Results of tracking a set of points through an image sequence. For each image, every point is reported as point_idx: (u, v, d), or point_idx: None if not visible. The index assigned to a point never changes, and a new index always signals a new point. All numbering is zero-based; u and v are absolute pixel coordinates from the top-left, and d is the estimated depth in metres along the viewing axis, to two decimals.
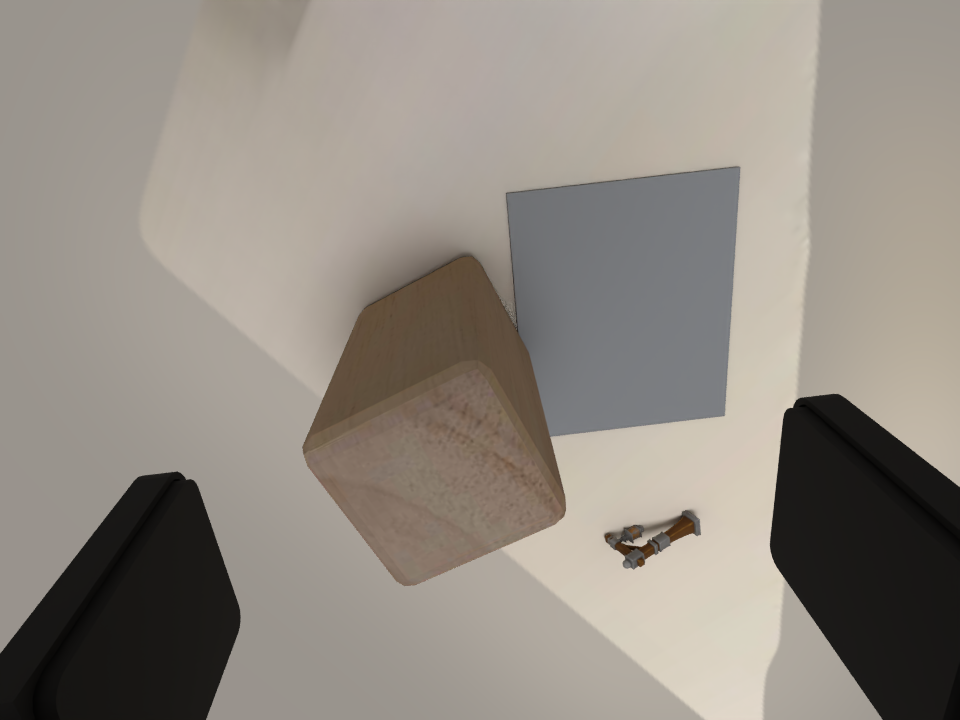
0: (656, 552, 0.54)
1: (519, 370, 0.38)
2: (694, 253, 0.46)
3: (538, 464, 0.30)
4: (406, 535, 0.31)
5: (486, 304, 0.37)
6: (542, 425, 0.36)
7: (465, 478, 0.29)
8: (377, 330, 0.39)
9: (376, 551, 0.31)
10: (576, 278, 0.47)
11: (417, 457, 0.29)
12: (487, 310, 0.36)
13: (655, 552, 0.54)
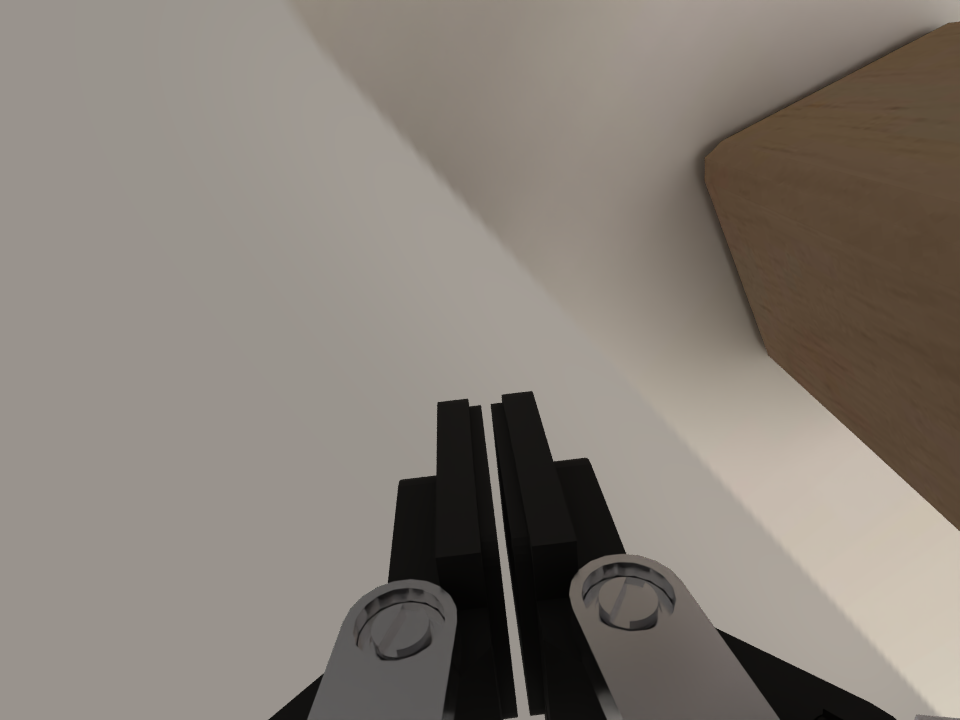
0: None
1: None
2: None
3: None
4: None
5: None
6: None
7: None
8: (903, 127, 0.16)
9: None
10: None
11: None
12: None
13: None
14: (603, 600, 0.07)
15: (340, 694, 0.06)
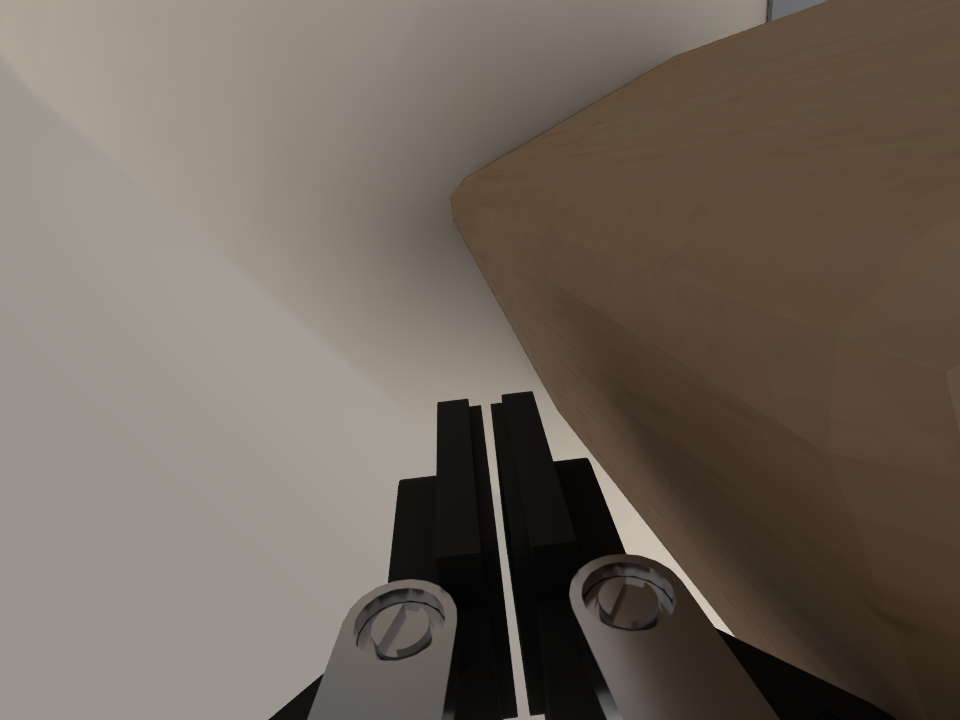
0: None
1: None
2: None
3: None
4: None
5: None
6: None
7: None
8: (590, 137, 0.14)
9: None
10: None
11: None
12: None
13: None
14: (603, 600, 0.07)
15: (340, 694, 0.06)
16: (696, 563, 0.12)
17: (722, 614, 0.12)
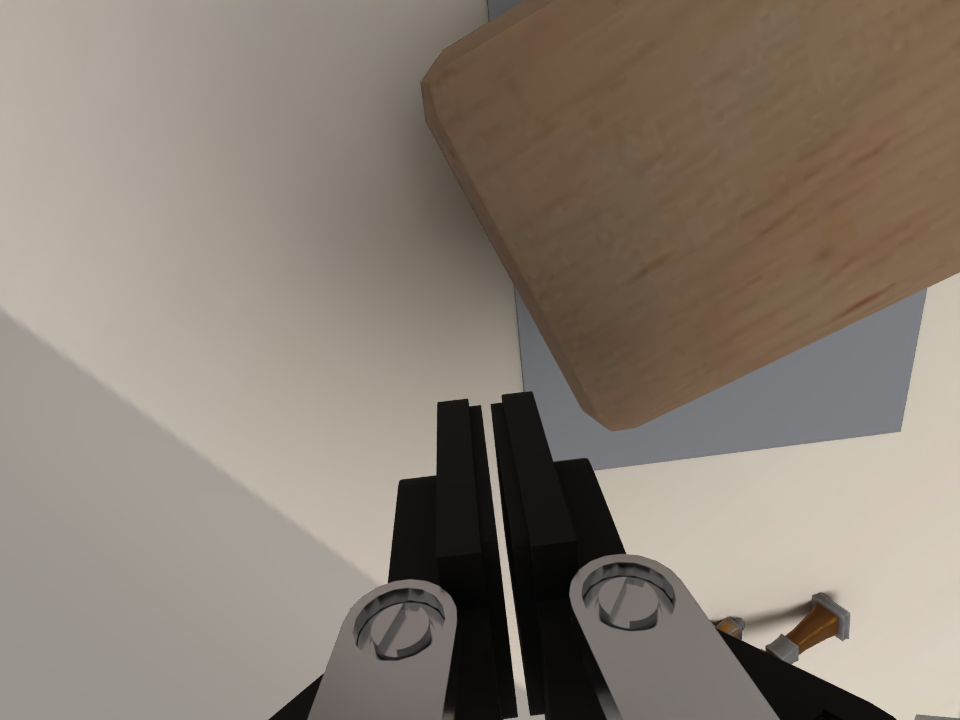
0: None
1: None
2: None
3: None
4: None
5: None
6: None
7: None
8: None
9: None
10: None
11: None
12: None
13: None
14: (603, 600, 0.07)
15: (340, 694, 0.06)
16: None
17: None
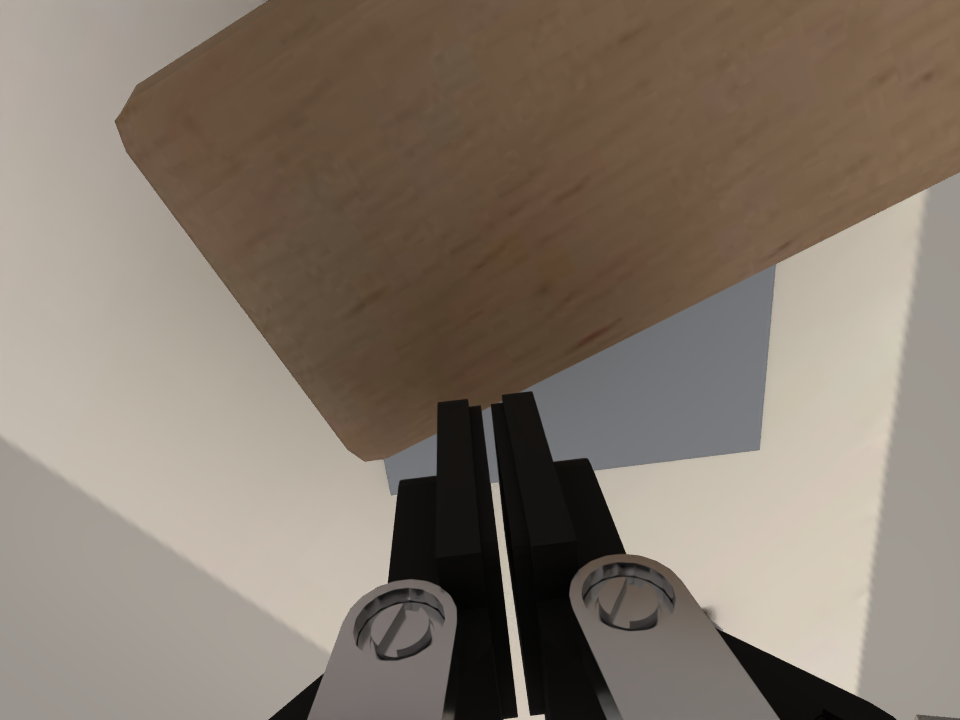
0: None
1: None
2: None
3: None
4: None
5: None
6: None
7: None
8: None
9: None
10: None
11: None
12: None
13: None
14: (603, 600, 0.07)
15: (340, 694, 0.06)
16: (822, 119, 0.13)
17: (839, 183, 0.13)
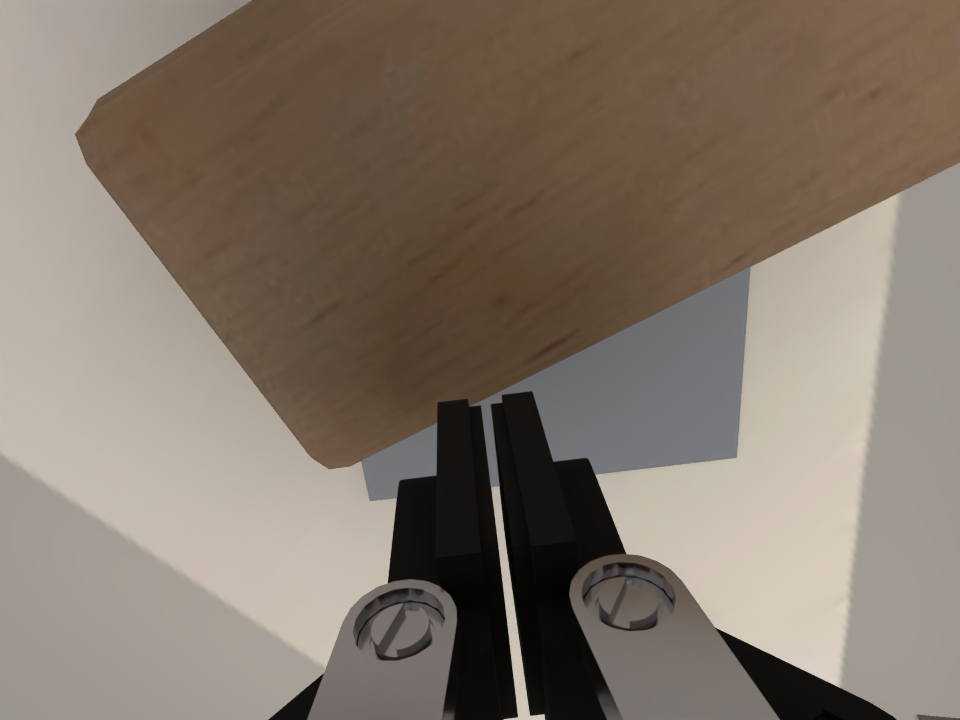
0: None
1: None
2: None
3: None
4: None
5: None
6: None
7: None
8: None
9: None
10: None
11: None
12: None
13: None
14: (603, 600, 0.07)
15: (340, 694, 0.06)
16: (771, 135, 0.13)
17: (790, 198, 0.14)
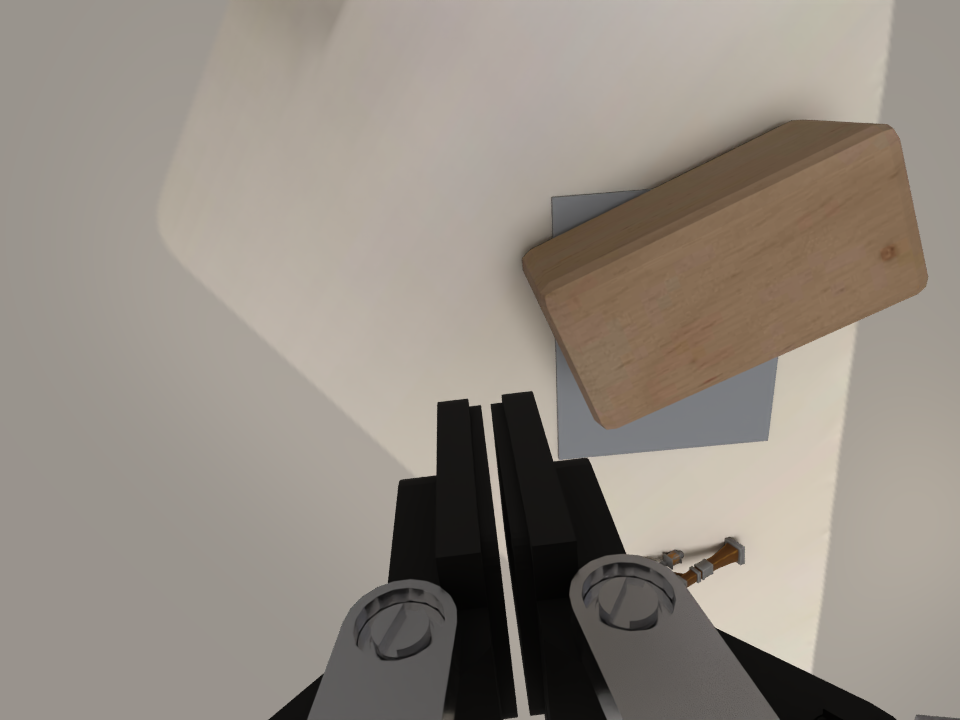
0: (699, 580, 0.51)
1: None
2: None
3: None
4: None
5: None
6: None
7: None
8: (657, 217, 0.35)
9: (919, 240, 0.34)
10: None
11: None
12: None
13: (698, 580, 0.51)
14: (603, 600, 0.07)
15: (340, 694, 0.06)
16: (803, 303, 0.34)
17: (809, 325, 0.35)
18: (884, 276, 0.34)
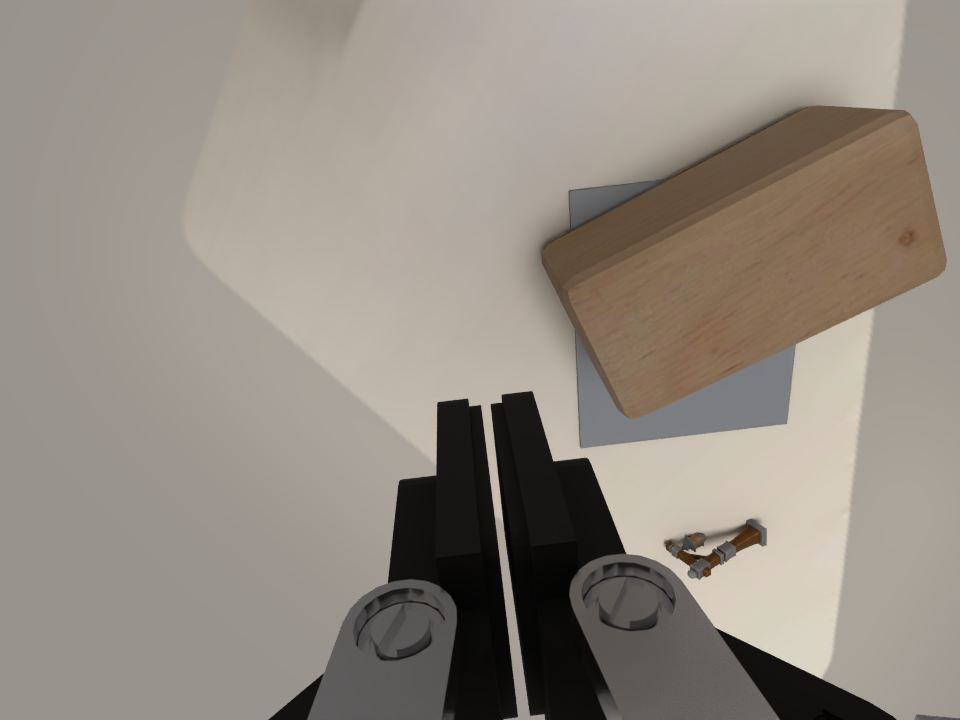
0: (722, 562, 0.52)
1: None
2: None
3: None
4: None
5: None
6: None
7: None
8: (675, 209, 0.35)
9: (938, 224, 0.34)
10: None
11: None
12: None
13: (721, 562, 0.52)
14: (603, 600, 0.07)
15: (340, 694, 0.06)
16: (823, 290, 0.35)
17: (829, 311, 0.35)
18: (903, 260, 0.34)
